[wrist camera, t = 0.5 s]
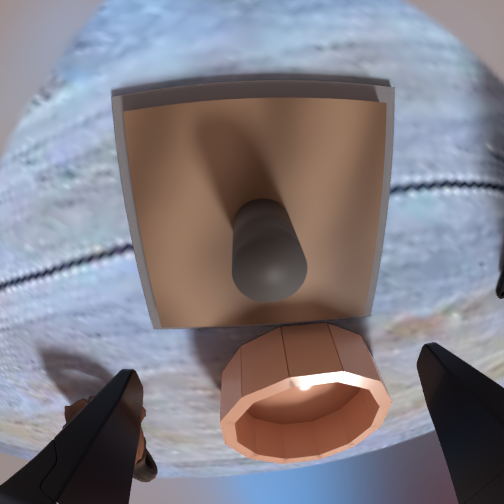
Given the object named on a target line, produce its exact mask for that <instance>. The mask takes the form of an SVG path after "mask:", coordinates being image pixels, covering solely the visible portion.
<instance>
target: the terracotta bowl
mask: <svg viewBox="0 0 504 504" xmlns="http://www.w3.org/2000/svg"><path fill="white" fill-rule="evenodd" d="M391 403H392V401H391V398H390V396H389V394H388V391H387V389H386V386H385V384H384V382H383V379H382V377H381V375H380V372H379V370H378V368H377V365H376V363H375V361H374V358H373V356H372V355H371V353H370V351H369V349H368V347H367V345H366V344H365V342H364V340H363V338H362V336H361V335H359V334H356V333H353V332H351V331H348V330H346V329H343V328H340V327H338V326H335V325H332V324H330V323H327V322H326V323H315V324H304V325H291V326H281V327H278V328H276V329H274V330H272V331H270V332H268V333H266V334H264V335H262V336H260V337H258V338H256V339H254V340H252V341H250V342H248V343H246V344H243V345H241V346H240V347H239V349H238V350H237V352H236V353H235V355H234V356H233V357H232V359H231V360H230V362H229V363H228V364H227V366H226V367H225V369H224V370H223V372H222V381H221V412H220V423H221V428H222V432H223V437H224V441H225V444H226V445H228V446H230V447H231V448H233V449H234V450H236V451H238V452H239V453H241V454H242V455H244V456H246V457H247V458H250V459H256V460H262V461H268V462H275V463H294V462H302V461H310V460H318V459H322V458H325V457H328V456H330V455H333V454H336V453H338V452H341V451H343V450H346V449H348V448H351V447H353V446H355V445H357V444H358V443H359V442H361V441H362V440H363V439H365V438H366V437H367V436H369V435H370V434H371V433H372V432H374V431H375V430H376V429H377V428H379V427H380V426H381V425H382V423H383V421H384V419H385V416H386V414H387V412H388V410H389V408H390V406H391Z"/></svg>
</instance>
